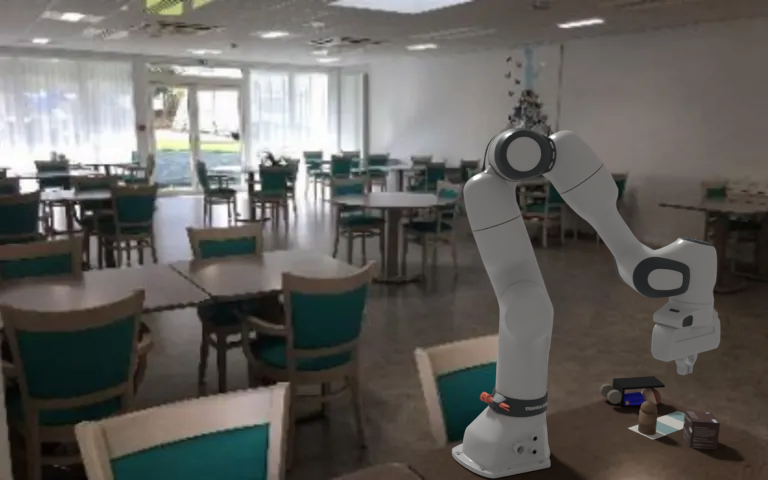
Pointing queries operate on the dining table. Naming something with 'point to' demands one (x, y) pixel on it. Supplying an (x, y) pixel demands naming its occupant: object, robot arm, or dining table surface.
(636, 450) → the dining table surface
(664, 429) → the board
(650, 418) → the brown rounded cylinder
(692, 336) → the robot arm
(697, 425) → the box
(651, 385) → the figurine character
